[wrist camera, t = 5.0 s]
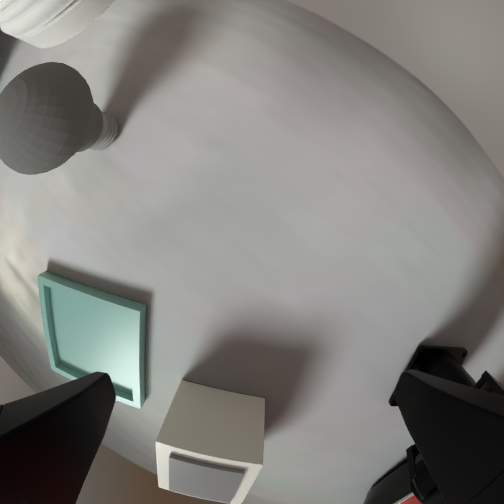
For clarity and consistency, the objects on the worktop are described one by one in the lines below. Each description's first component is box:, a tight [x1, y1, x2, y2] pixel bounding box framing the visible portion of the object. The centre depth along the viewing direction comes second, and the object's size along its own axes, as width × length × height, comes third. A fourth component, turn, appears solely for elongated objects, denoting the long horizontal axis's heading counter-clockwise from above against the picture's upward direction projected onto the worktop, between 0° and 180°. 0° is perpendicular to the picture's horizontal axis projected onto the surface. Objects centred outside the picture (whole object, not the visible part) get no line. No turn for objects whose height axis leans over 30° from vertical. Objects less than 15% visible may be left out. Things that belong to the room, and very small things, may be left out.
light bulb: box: [0, 62, 117, 175], centre depth 12 cm, size 6×6×10 cm
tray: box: [38, 271, 147, 409], centre depth 20 cm, size 10×10×1 cm
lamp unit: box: [156, 380, 265, 504], centre depth 18 cm, size 7×8×7 cm
